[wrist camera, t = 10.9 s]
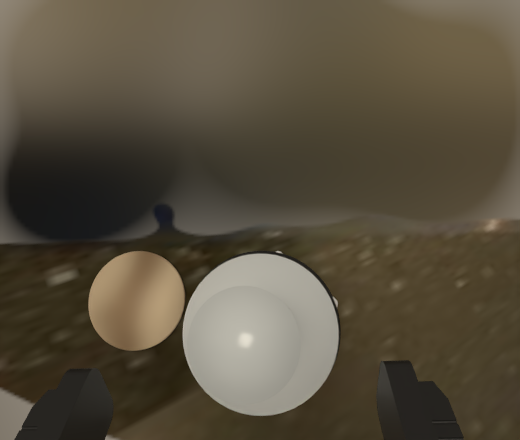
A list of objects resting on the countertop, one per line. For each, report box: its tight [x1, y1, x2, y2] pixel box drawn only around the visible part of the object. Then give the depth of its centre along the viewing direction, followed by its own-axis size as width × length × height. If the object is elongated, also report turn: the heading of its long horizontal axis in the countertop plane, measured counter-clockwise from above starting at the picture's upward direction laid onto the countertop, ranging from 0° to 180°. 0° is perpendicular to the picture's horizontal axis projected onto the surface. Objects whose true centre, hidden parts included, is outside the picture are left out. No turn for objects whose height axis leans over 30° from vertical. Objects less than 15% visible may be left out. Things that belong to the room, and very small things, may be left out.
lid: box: [183, 254, 339, 416], centre depth 17 cm, size 8×8×8 cm
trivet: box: [89, 251, 185, 351], centre depth 33 cm, size 8×8×1 cm
